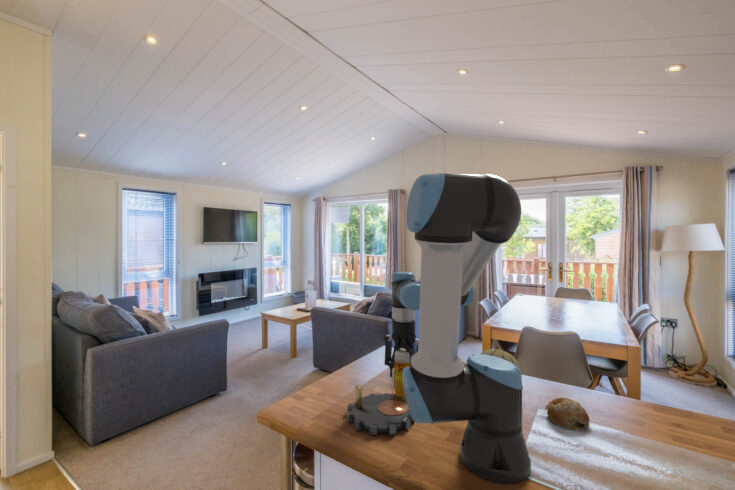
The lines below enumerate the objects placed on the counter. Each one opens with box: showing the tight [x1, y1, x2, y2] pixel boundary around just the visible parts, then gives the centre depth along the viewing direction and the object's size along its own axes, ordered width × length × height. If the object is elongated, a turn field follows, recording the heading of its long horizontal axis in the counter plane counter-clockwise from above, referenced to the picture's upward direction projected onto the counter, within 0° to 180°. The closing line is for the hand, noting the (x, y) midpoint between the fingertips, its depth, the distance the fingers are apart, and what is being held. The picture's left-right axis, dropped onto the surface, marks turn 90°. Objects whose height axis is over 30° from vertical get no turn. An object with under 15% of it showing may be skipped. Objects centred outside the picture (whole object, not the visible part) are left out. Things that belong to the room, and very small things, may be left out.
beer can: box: [394, 348, 411, 400], centre depth 111 cm, size 6×6×15 cm
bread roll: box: [544, 397, 590, 432], centre depth 94 cm, size 10×10×8 cm
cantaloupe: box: [480, 345, 523, 377], centre depth 111 cm, size 15×15×15 cm
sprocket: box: [346, 384, 415, 436], centre depth 97 cm, size 20×20×8 cm
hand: (404, 389), depth 111 cm, fingers closed on beer can, 6 cm apart
